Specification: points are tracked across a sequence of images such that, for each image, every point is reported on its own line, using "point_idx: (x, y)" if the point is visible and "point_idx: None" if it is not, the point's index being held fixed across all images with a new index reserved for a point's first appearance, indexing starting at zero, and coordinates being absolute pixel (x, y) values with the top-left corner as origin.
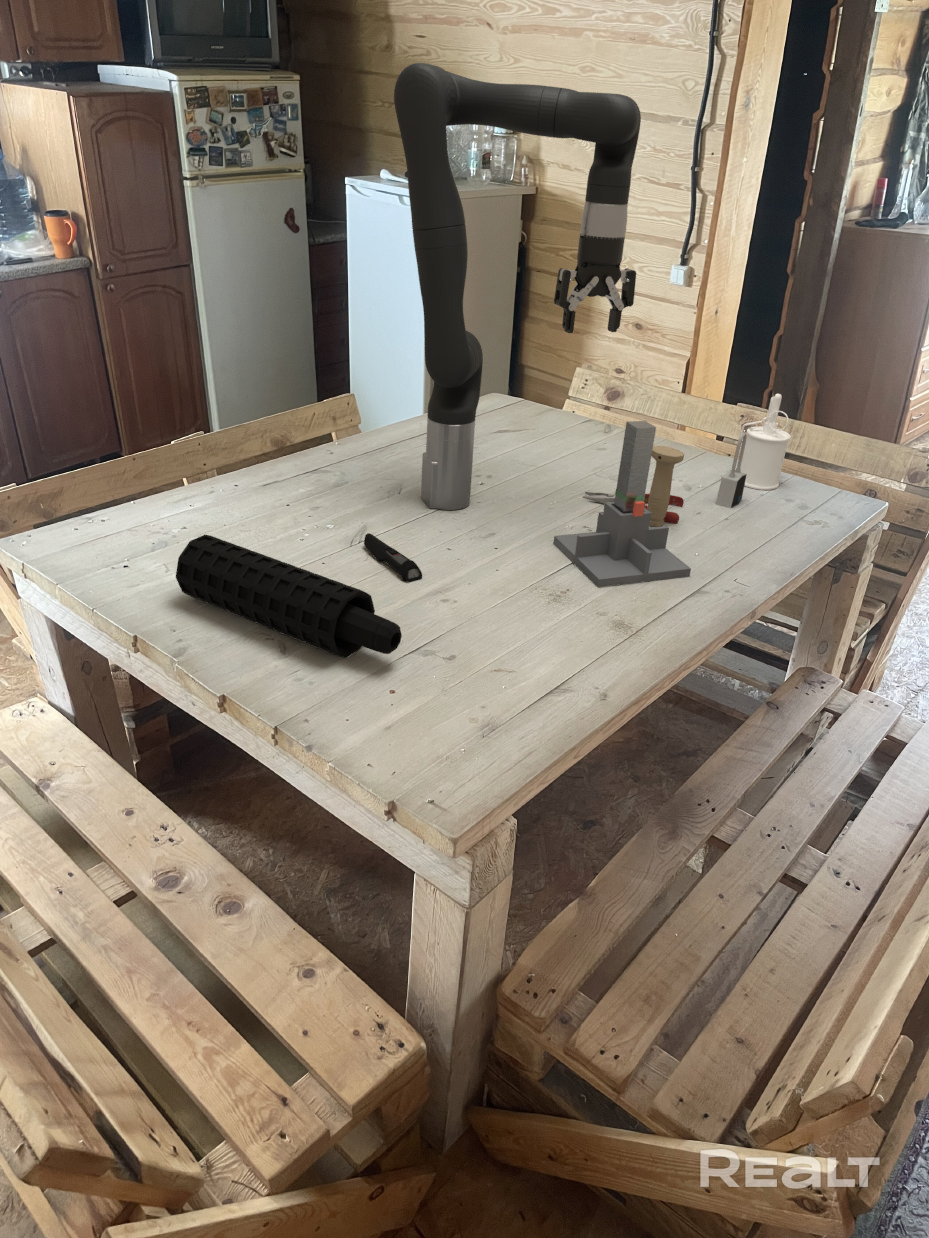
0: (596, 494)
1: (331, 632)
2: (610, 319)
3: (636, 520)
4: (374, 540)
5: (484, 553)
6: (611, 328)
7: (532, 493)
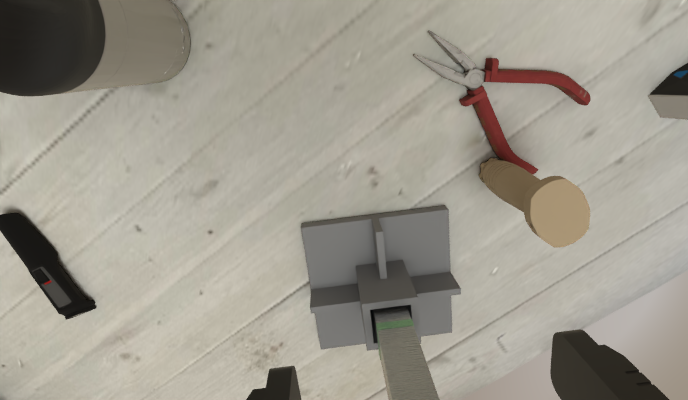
0: (444, 47)
1: None
2: (595, 392)
3: None
4: (8, 240)
5: (190, 245)
6: (561, 377)
7: (326, 7)
